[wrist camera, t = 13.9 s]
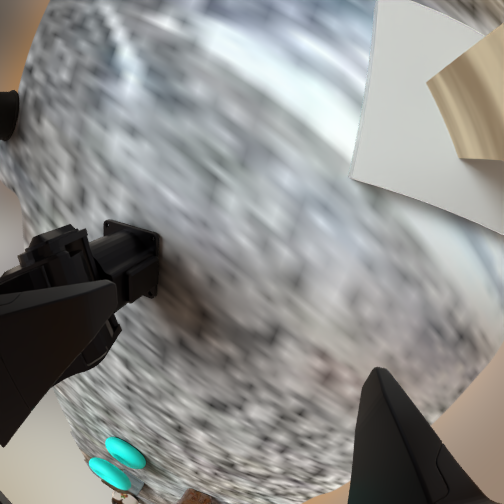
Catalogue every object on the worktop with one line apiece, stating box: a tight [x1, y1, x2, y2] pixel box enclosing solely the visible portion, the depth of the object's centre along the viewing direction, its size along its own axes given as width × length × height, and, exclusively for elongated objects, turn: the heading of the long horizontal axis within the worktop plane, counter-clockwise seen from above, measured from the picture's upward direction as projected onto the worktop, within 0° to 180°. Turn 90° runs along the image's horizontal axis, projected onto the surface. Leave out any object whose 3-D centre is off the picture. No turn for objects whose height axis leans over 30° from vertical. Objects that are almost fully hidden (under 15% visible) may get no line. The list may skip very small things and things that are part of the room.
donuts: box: [89, 437, 146, 490], centre depth 39 cm, size 10×10×10 cm
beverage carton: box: [101, 469, 144, 496], centre depth 54 cm, size 8×19×7 cm, turn 137°
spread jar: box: [112, 490, 139, 504], centre depth 64 cm, size 12×11×12 cm
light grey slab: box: [348, 0, 504, 236], centre depth 12 cm, size 14×14×3 cm
